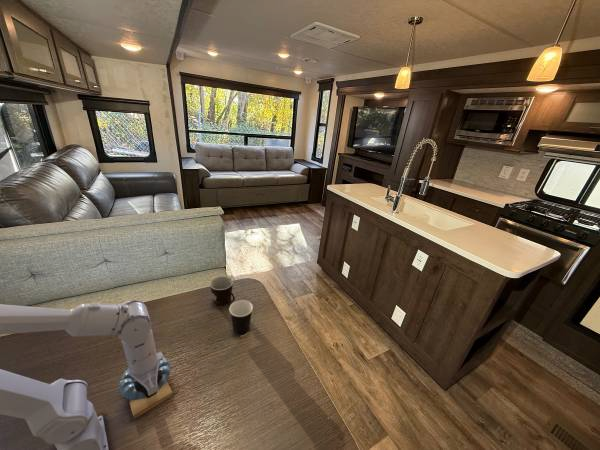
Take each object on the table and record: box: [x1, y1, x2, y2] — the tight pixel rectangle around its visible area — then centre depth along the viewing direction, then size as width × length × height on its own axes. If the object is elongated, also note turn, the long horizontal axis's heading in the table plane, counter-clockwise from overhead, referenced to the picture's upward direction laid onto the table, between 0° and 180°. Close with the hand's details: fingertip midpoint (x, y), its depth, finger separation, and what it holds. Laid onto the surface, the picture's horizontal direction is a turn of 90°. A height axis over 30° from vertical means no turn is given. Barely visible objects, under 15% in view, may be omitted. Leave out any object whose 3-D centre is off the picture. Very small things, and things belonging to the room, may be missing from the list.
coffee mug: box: [209, 275, 236, 307], centre depth 97 cm, size 12×9×10 cm
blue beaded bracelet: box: [118, 357, 171, 400], centre depth 64 cm, size 11×11×3 cm
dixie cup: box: [228, 299, 254, 338], centre depth 86 cm, size 8×8×11 cm
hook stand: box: [128, 380, 173, 420], centre depth 66 cm, size 9×9×6 cm
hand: (149, 388), depth 61 cm, fingers closed on blue beaded bracelet, 3 cm apart
